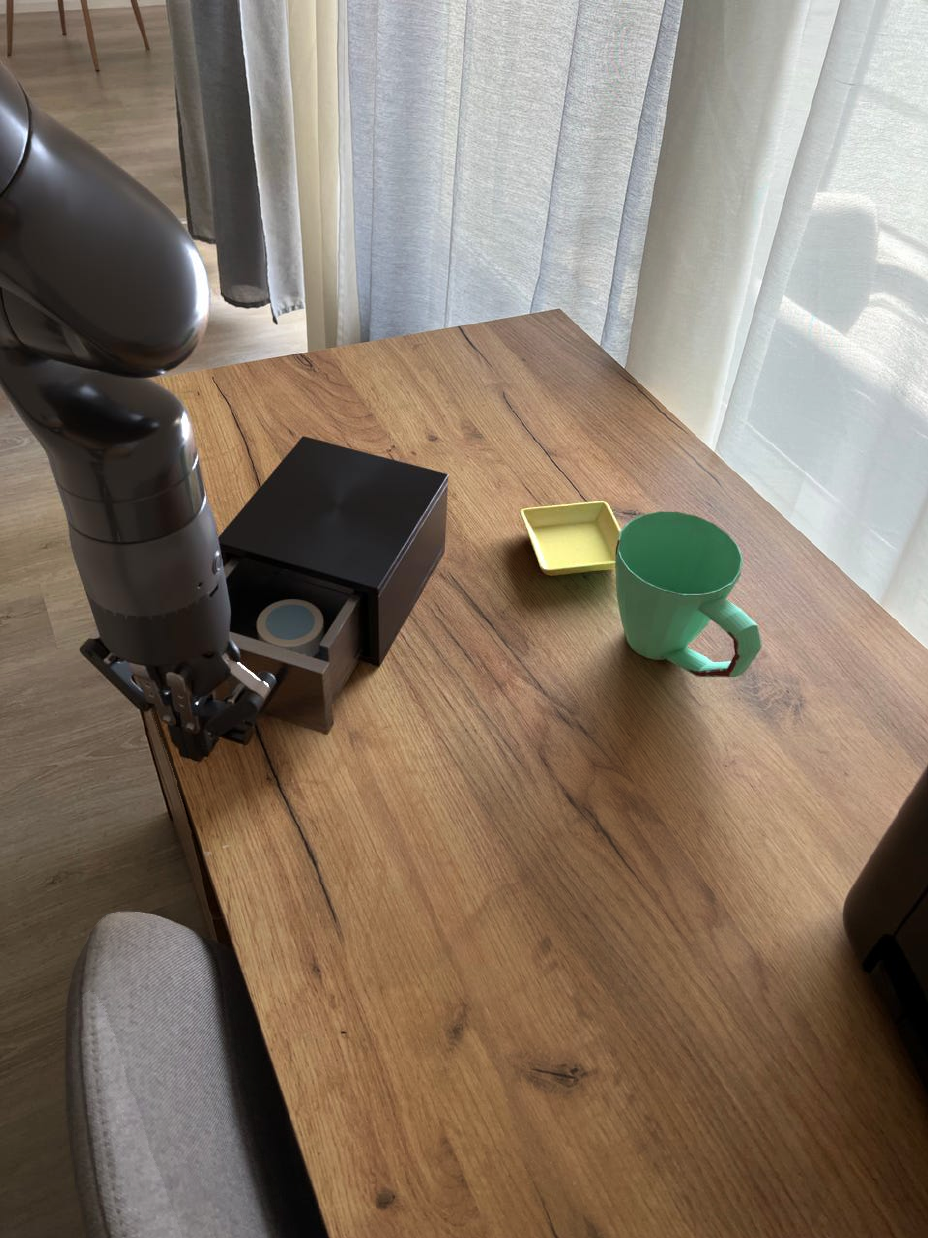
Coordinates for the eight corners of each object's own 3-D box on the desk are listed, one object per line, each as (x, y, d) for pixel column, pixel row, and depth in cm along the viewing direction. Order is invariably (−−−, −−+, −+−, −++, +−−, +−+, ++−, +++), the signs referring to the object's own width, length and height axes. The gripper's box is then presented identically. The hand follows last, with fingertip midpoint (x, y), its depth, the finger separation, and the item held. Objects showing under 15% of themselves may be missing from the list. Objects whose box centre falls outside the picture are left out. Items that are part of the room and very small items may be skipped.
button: (289, 674, 74) (287, 656, 72) (245, 640, 76) (242, 622, 75) (338, 638, 77) (337, 620, 75) (294, 606, 79) (292, 588, 77)
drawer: (292, 796, 67) (284, 736, 62) (137, 743, 70) (118, 680, 65) (399, 611, 81) (399, 549, 76) (266, 572, 83) (257, 509, 78)
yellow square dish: (539, 587, 85) (541, 570, 83) (516, 524, 91) (518, 507, 89) (631, 578, 86) (635, 560, 85) (603, 516, 92) (606, 499, 91)
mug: (574, 619, 82) (591, 531, 75) (664, 585, 86) (689, 497, 79) (679, 742, 74) (710, 656, 67) (775, 698, 77) (814, 612, 70)
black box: (379, 667, 77) (378, 588, 71) (228, 620, 80) (214, 541, 74) (444, 551, 88) (448, 473, 81) (309, 513, 90) (302, 435, 84)
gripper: (6, 575, 52) (82, 762, 64) (224, 643, 49) (259, 825, 61) (89, 494, 57) (144, 683, 69) (291, 553, 54) (310, 738, 66)
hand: (198, 750), depth 65 cm, fingers closed
